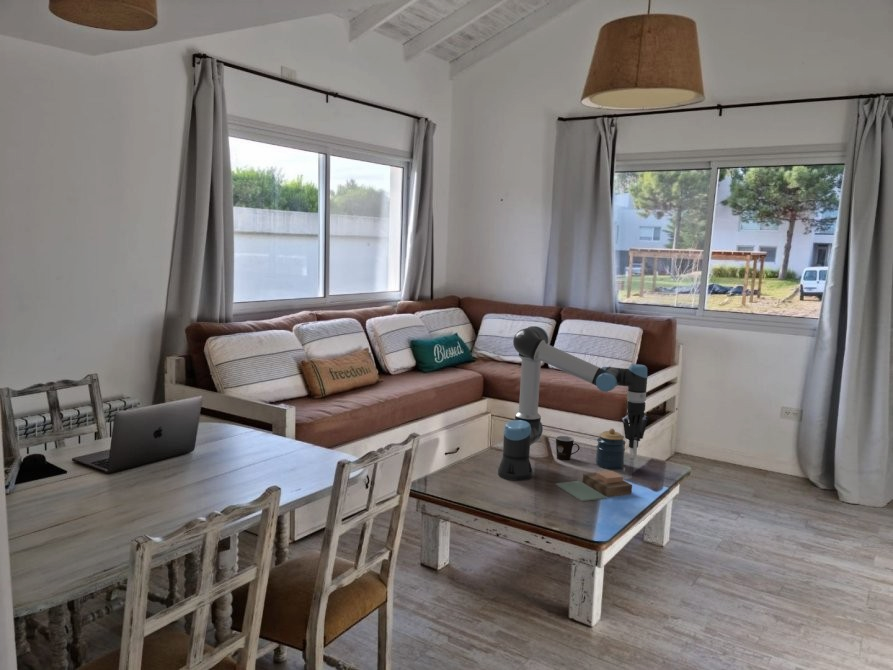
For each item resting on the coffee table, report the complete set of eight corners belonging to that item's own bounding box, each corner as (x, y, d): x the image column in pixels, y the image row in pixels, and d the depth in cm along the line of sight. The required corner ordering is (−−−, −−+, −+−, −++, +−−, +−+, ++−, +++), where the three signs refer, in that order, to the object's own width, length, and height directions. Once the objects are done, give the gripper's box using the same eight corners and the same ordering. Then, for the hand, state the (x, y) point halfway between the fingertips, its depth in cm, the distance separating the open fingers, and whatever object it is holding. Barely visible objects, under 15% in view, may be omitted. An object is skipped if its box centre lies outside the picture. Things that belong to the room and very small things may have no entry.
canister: (591, 466, 321) (594, 429, 318) (599, 459, 332) (602, 423, 330) (619, 471, 315) (622, 434, 312) (626, 464, 326) (629, 427, 324)
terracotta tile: (595, 476, 294) (596, 472, 294) (611, 475, 297) (611, 470, 297) (606, 483, 287) (607, 478, 286) (622, 481, 290) (623, 476, 289)
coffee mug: (550, 456, 332) (552, 436, 331) (565, 455, 336) (567, 435, 335) (564, 464, 322) (566, 443, 321) (579, 462, 326) (581, 441, 324)
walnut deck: (582, 482, 298) (583, 473, 297) (605, 479, 302) (606, 471, 302) (607, 497, 281) (607, 487, 281) (631, 494, 286) (632, 485, 285)
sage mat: (555, 484, 294) (555, 483, 294) (579, 481, 298) (579, 480, 298) (581, 501, 275) (581, 500, 275) (606, 498, 280) (606, 496, 280)
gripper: (629, 404, 286) (625, 459, 289) (654, 402, 290) (651, 456, 293) (618, 400, 292) (615, 453, 295) (643, 398, 297) (639, 451, 300)
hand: (633, 455), depth 294 cm, fingers closed
